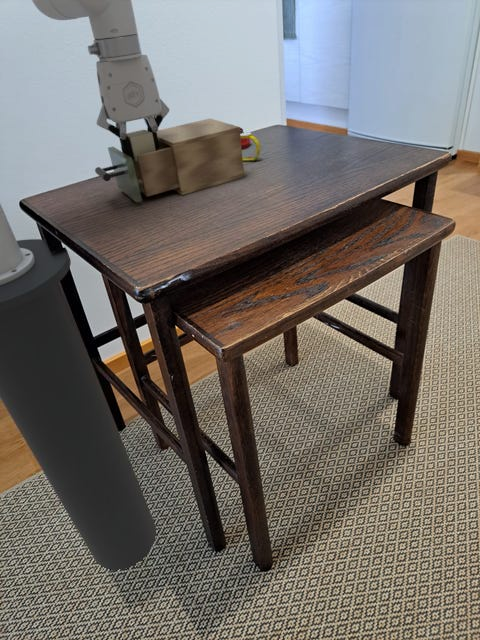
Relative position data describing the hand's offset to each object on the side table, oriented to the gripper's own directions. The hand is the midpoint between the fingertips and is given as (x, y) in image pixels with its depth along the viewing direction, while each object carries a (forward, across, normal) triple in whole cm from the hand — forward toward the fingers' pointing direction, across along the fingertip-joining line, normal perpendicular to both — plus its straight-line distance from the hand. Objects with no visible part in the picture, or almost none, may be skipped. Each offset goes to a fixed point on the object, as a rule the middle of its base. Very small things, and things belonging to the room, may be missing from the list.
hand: (142, 154), depth 89 cm
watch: (+8, +26, +3) cm, 27 cm away
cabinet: (+8, +12, 0) cm, 14 cm away
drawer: (+7, 0, 0) cm, 7 cm away
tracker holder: (+8, +31, +18) cm, 36 cm away
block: (0, 0, 0) cm, 0 cm away
